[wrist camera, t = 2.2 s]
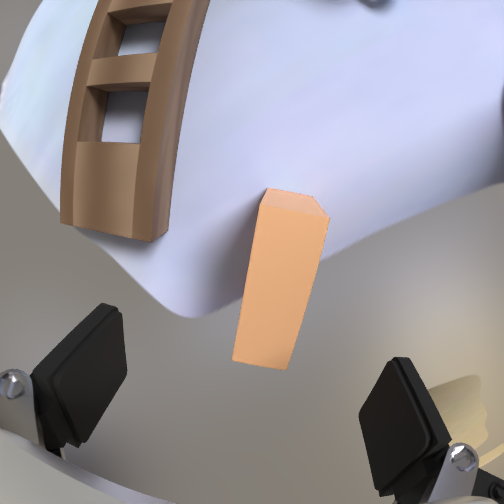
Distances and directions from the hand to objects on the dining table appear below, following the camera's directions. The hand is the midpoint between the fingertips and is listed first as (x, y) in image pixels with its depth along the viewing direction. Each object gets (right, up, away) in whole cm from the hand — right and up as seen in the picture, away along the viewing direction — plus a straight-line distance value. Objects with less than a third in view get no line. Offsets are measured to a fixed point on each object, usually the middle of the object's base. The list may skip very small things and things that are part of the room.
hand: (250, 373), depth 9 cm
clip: (+2, +4, +11) cm, 12 cm away
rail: (-8, +17, +8) cm, 20 cm away
